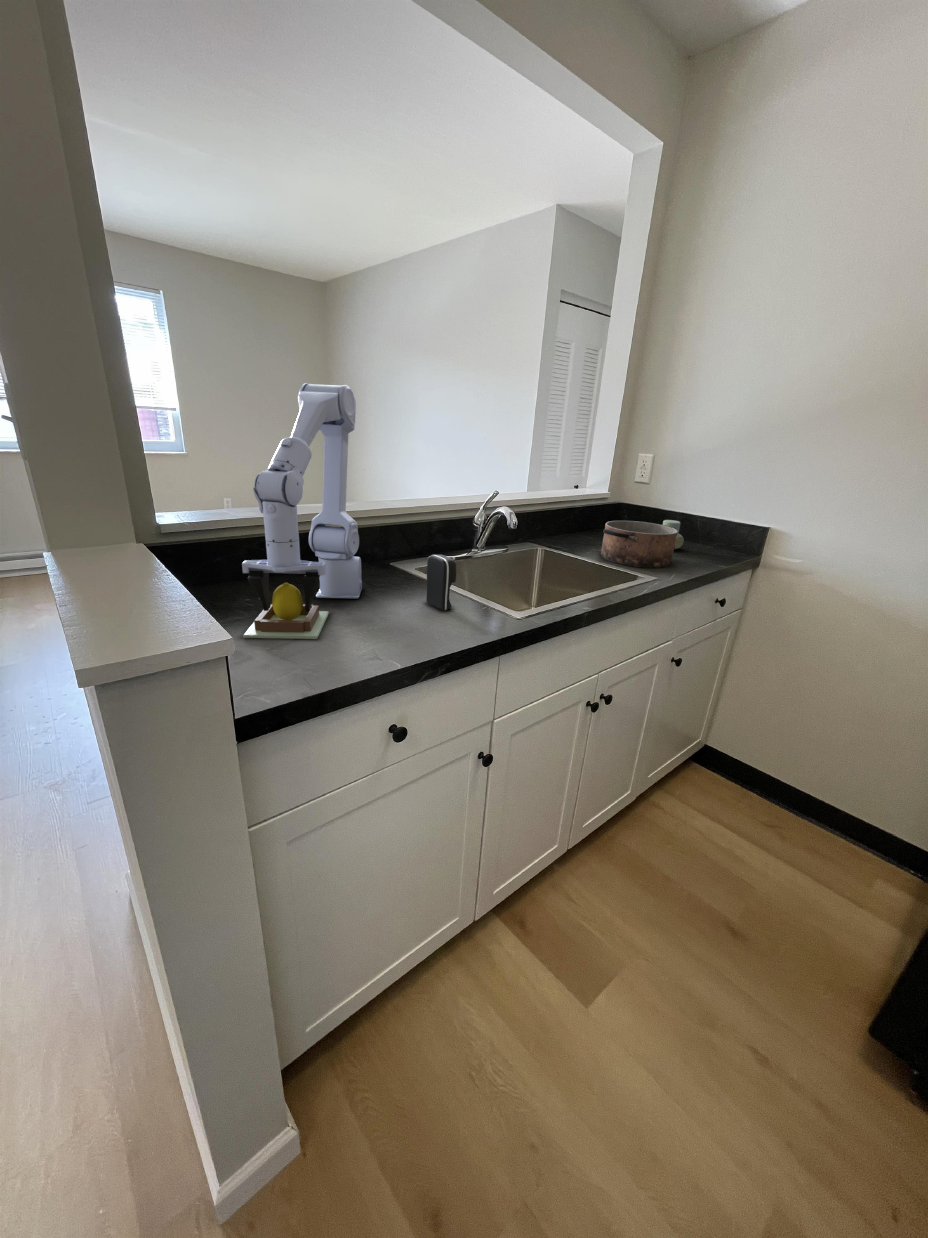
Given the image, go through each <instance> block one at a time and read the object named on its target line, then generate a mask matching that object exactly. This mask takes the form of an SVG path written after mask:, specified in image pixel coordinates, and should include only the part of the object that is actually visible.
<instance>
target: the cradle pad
mask: <svg viewBox="0 0 928 1238" xmlns="http://www.w3.org/2000/svg"><path fill="white" fill-rule="evenodd" d="M329 615H330V612H329V611H327V610H326V611H324V610H320V605H314V604H313V603H312V605H311V610H310V611H309V612H306V611H305V603H303V608H302V611H301V613H300V615H299V616H298V617H297V618H295V619H293V620H283V619H280V618H279V617H278V616H277V615H276V614H275V612H274V610H273V607H272V604H270V608H269V610H268V611H264V609H262V610H261V612H260V613H259V614H258V615H257V616H256V618H255V619H254V621H253V622H252V624H251V625H250V626H249V627H248V628H247V630H246V631H245V632H244V633H243V634H242V637H243V639H286V640H288V639H291V640H292V639H293V640H295V639H298V640H318V638H319V635H320V634H321V632H322V629H323V627H324V625H325V623H326V621H327V618H328V617H329Z"/></svg>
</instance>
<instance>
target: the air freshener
mask: <svg viewBox="0 0 928 1238" xmlns="http://www.w3.org/2000/svg"><path fill="white" fill-rule="evenodd" d="M662 525H666V526H671V527H675V528H676V530H677V531H678V532H677V537H676V542H675V547H674V551H676V550H677V549H680V548H681V547H682V546H683V545H684V542H685V538H684V537H683V535H682V534H681V533H679V532H680V527H681V521H679V520H673V519H664V520H663V521H662Z"/></svg>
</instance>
